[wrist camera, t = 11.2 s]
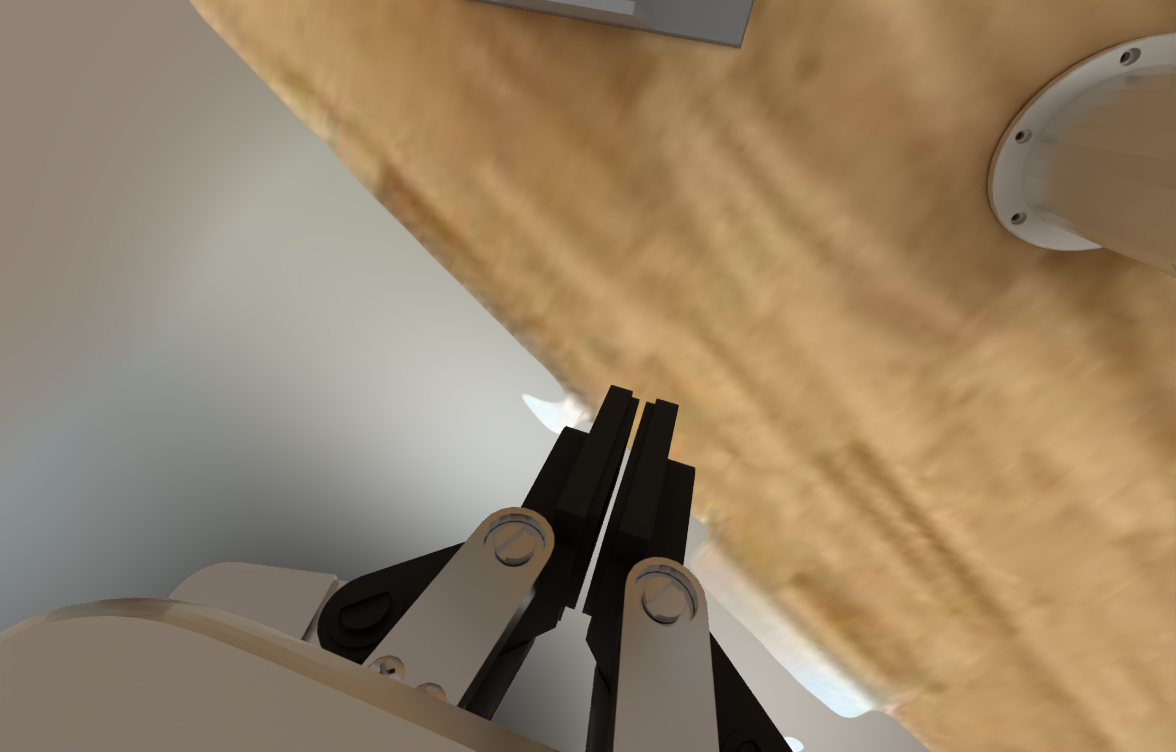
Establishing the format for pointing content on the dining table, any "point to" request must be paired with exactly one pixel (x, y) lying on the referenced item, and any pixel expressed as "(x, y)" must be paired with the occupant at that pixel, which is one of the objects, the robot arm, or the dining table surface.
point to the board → (682, 18)
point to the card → (596, 10)
